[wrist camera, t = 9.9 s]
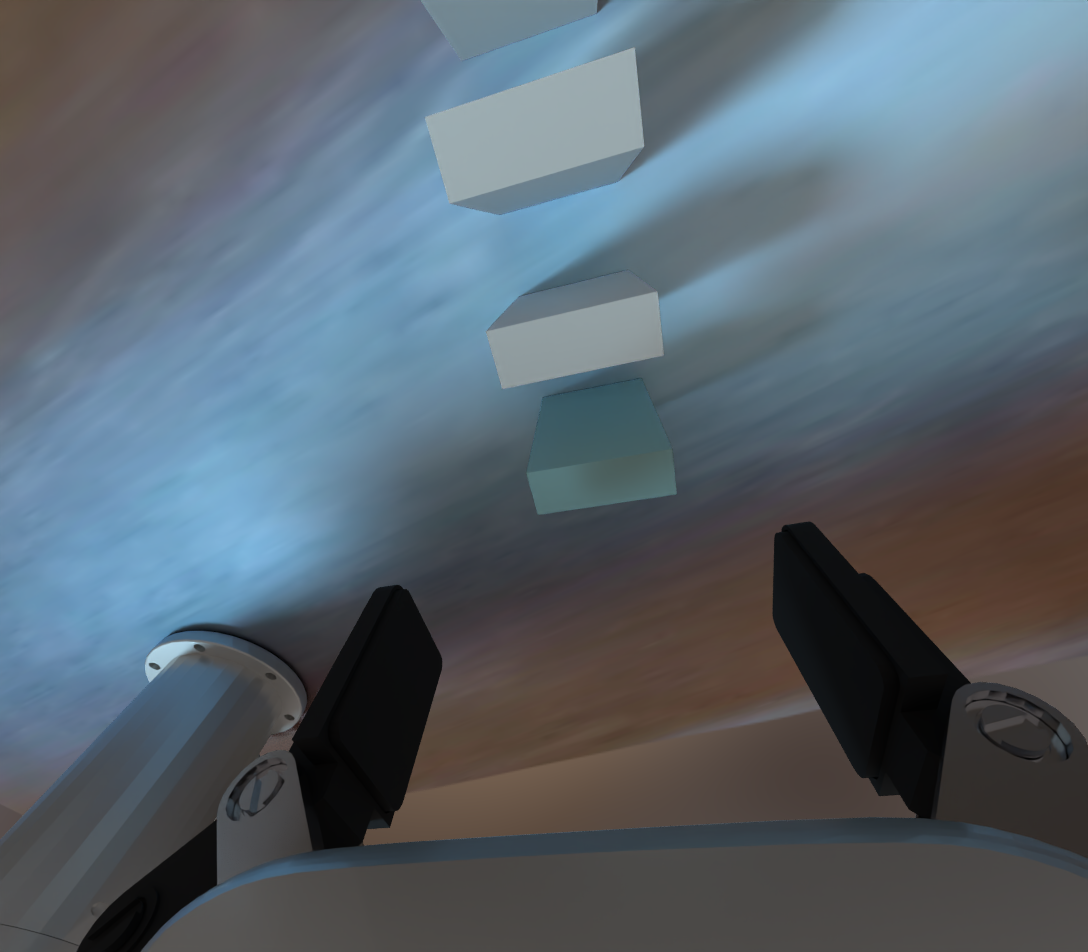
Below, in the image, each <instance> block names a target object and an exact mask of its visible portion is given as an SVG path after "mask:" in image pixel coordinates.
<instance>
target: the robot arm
mask: <svg viewBox="0 0 1088 952" xmlns="http://www.w3.org/2000/svg"><path fill="white" fill-rule="evenodd" d="M773 620H774V623H775V626H776V628H777V630H778V632H779V634H780V636H781V638H782V639H783V641H784V643H785V645H786V647H787V648H788V650H789V652H790V654H791V656H792V658H793V659H794V661H795V663H796V665H797V667H798V668H799V670H800V672H801V674H802V676H803V677H804V679H805V681H806V683H807V685H808V686H809V688H810V690H811V692H812V694H813V695H814V697H815V699H816V701H817V703H818V705H819V706H820V708H821V710H822V712H823V714H824V715H825V717H826V719H827V721H828V723H829V724H830V726H831V728H832V730H833V732H834V733H835V735H836V737H837V739H838V741H839V743H840V744H841V746H842V748H843V750H844V751H845V753H846V755H847V757H848V759H849V761H850V762H851V764H852V766H853V768H854V769H855V771H856V772H857V774H858V775H859V776H860V777H861V778H869V779H870V781H871V783H872V785H873V786H874V788H875V790H876V792H877V793H878V795H879V796H888V795H900V796H901V797H902V799H903V801H904V802H905V804H906V806H907V807H908V809H909V810H911V811H912V812H914V813H916V818H879V817H878V818H877V817H868V818H839V819H811V820H781V821H764V822H743V823H724V824H706V825H687V826H668V827H650V828H632V829H615V830H599V831H582V832H581V831H580V832H563V833H547V834H530V835H513V836H497V837H481V838H466V839H451V840H435V841H419V842H406V843H405V842H404V843H393V844H379V845H367V846H364V844H363V839H364V836H365V833H366V830H367V829H376V828H390V826H391V822H392V819H393V815H394V812H395V811H397V810H399V809H400V807H401V805H402V803H403V800H404V797H405V793H406V790H407V787H408V783H409V780H410V776H411V773H412V769H413V766H414V763H415V759H416V756H417V752H418V749H419V745H420V742H421V739H422V735H423V732H424V728H425V725H426V721H427V718H428V715H429V711H430V708H431V704H432V701H433V697H434V694H435V691H436V687H437V684H438V680H439V677H440V673H441V670H442V658H441V655H440V653H439V651H438V649H437V647H436V645H435V643H434V641H433V639H432V637H431V635H430V633H429V631H428V629H427V627H426V625H425V623H424V621H423V619H422V617H421V615H420V613H419V611H418V609H417V607H416V605H415V603H414V601H413V599H412V597H411V595H410V593H409V591H408V590H407V589H403V588H402V587H401V586H400V585H393V586H386V587H380V588H377V589H376V590H375V591H374V592H373V594H372V596H371V598H370V600H369V601H368V603H367V605H366V607H365V609H364V610H363V612H362V614H361V616H360V618H359V619H358V621H357V623H356V625H355V627H354V628H353V630H352V632H351V634H350V636H349V637H348V639H347V641H346V643H345V645H344V646H343V648H342V650H341V652H340V654H339V655H338V657H337V659H336V661H335V663H334V665H333V666H332V668H331V670H330V672H329V674H328V675H327V677H326V679H325V681H324V683H323V684H322V686H321V688H320V690H319V692H318V693H317V695H316V697H315V699H314V701H313V702H312V704H311V706H310V708H309V710H308V711H307V713H306V715H305V717H304V719H303V720H302V722H301V724H300V726H299V728H298V729H297V731H296V733H295V735H294V737H293V738H292V740H293V742H294V743H293V745H292V747H291V748H290V750H289V752H288V751H286V750H275V751H272V752H269V753H266V754H264V755H263V756H260V755H259V753H260V752H261V750H262V748H263V747H264V745H265V743H266V742H267V740H268V738H269V737H270V735H274V734H277V733H281V732H284V731H286V730H288V729H290V728H292V727H293V726H294V725H295V724H296V723H297V722H298V721H299V719H300V717H301V716H302V714H303V712H304V710H305V708H306V704H307V695H306V691H305V689H304V686H303V684H302V682H301V681H300V679H299V678H298V676H297V675H296V674H295V673H294V672H293V670H292V669H291V668H290V667H289V666H288V665H287V664H285V663H284V662H283V661H281V660H280V659H279V658H278V657H276V656H275V655H273V654H271V653H270V652H268V651H267V650H265V649H263V648H261V647H259V646H257V645H255V644H253V643H251V642H249V641H246V640H243V639H240V638H237V637H234V636H231V635H226V634H222V633H218V632H210V631H185V632H180V633H175V634H173V635H170V636H168V637H166V638H164V639H163V640H162V641H161V642H159V643H158V644H157V645H156V646H155V647H154V648H153V649H152V650H151V652H150V653H149V654H148V655H147V658H146V660H145V670H146V675H147V677H148V680H149V682H150V683H149V684H148V685H147V686H146V687H145V688H144V689H143V690H142V691H141V693H140V694H139V695H138V696H137V697H136V698H135V699H134V700H133V701H132V702H131V703H130V704H129V705H128V706H127V707H126V708H125V709H124V710H123V711H122V712H121V713H120V715H119V716H118V717H117V718H116V719H115V720H114V721H113V722H112V723H111V724H110V725H109V726H108V727H107V728H106V729H105V730H104V731H103V732H102V733H101V734H100V735H99V737H98V738H97V739H96V740H95V741H94V742H93V743H92V744H91V745H90V746H89V747H88V748H87V749H86V750H85V751H84V752H83V753H82V754H81V755H80V756H79V757H78V759H77V760H76V761H75V762H74V763H73V764H72V765H71V766H70V767H69V768H68V769H67V770H66V771H65V772H64V773H63V774H62V775H61V776H60V777H59V778H58V779H57V781H56V782H55V783H54V784H53V785H52V786H51V787H50V788H49V789H48V790H47V791H46V792H45V793H44V794H43V795H42V796H41V797H40V798H39V799H38V800H37V802H36V803H35V804H34V805H33V806H32V807H31V808H30V809H29V810H28V811H27V812H26V813H25V814H24V815H23V816H22V817H21V818H20V819H19V820H18V821H17V822H16V824H15V825H14V826H13V827H12V828H11V829H10V830H9V831H8V832H7V833H6V834H5V835H4V836H3V837H2V838H1V839H0V952H1088V745H1087V742H1086V739H1085V737H1084V736H1083V735H1082V734H1081V732H1080V731H1079V730H1078V728H1077V727H1076V726H1075V725H1074V723H1073V722H1071V721H1070V720H1069V719H1068V718H1067V717H1065V716H1064V715H1063V714H1062V713H1061V712H1060V711H1059V710H1057V709H1056V708H1054V707H1053V706H1051V705H1049V704H1048V703H1046V702H1044V701H1043V700H1041V699H1039V698H1038V697H1036V696H1033V695H1031V694H1028V693H1026V692H1024V691H1022V690H1019V689H1017V688H1013V687H1010V686H1005V685H1002V684H998V683H987V682H977V683H972V684H971V683H970V682H969V681H968V679H967V678H966V677H965V676H964V675H963V674H962V673H961V672H960V671H959V670H958V669H957V668H956V667H955V666H954V664H953V663H952V662H951V661H950V660H949V659H948V658H947V657H946V656H945V655H944V654H943V653H942V652H941V650H940V649H939V648H938V647H937V646H936V645H935V644H934V643H933V642H932V641H931V640H930V639H929V638H928V636H927V635H926V634H925V633H924V632H923V631H922V630H921V629H920V628H919V627H918V626H917V625H916V624H915V622H914V621H913V620H912V619H911V618H910V617H909V616H908V615H907V614H906V613H905V612H904V611H903V610H902V608H901V607H900V606H899V605H898V604H897V603H896V602H895V601H894V600H893V599H892V598H891V597H890V596H889V594H888V593H887V592H886V591H885V590H884V589H883V588H882V587H881V586H880V585H879V584H878V583H877V582H876V581H875V580H874V579H873V578H872V577H871V576H870V575H867V574H865V573H861V574H858V573H857V571H856V570H855V569H854V568H853V567H852V566H851V565H850V564H849V562H848V561H847V560H846V559H845V558H844V557H843V556H842V555H841V554H840V552H839V551H838V550H837V549H836V548H835V547H834V546H833V545H832V544H831V542H830V541H829V540H828V539H827V538H826V537H825V536H824V535H823V533H822V532H821V531H820V530H819V529H818V528H817V527H816V526H815V525H814V524H813V523H812V522H803V523H797V524H790V525H785V526H783V527H782V531H781V532H779V533H776V534H775V538H774V576H773ZM216 817H217V820H215V819H216ZM214 820H215V821H214Z"/></svg>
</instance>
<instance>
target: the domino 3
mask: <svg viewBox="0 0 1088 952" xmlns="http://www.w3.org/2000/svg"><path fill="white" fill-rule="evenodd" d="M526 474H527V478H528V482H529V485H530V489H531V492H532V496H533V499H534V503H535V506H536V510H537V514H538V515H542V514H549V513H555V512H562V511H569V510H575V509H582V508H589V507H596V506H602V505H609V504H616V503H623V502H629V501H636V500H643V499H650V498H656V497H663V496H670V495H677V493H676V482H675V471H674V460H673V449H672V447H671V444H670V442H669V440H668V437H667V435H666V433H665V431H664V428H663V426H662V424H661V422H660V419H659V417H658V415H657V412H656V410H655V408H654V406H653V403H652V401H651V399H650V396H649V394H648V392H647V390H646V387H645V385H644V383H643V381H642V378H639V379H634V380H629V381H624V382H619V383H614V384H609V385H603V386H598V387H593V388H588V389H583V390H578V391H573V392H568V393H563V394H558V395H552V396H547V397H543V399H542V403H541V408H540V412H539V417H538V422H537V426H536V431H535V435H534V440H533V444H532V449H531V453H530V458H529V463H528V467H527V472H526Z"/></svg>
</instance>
